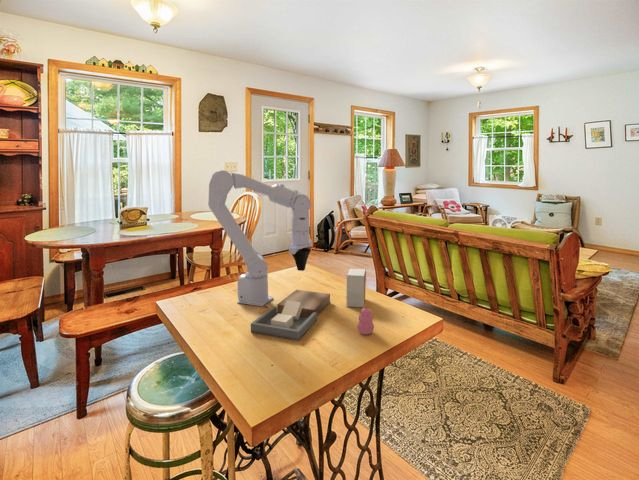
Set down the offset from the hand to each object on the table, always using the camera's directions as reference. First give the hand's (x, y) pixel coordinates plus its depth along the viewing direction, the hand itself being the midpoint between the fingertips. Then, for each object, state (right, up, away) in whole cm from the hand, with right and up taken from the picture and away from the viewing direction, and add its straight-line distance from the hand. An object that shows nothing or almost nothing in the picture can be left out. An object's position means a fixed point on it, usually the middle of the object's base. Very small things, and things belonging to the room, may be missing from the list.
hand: (301, 270), depth 123 cm
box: (-4, -14, -21) cm, 25 cm away
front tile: (-4, -11, -22) cm, 25 cm away
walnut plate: (+1, -11, -8) cm, 14 cm away
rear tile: (-1, -11, -16) cm, 20 cm away
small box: (+18, -11, -4) cm, 21 cm away
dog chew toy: (+18, -15, -25) cm, 34 cm away
